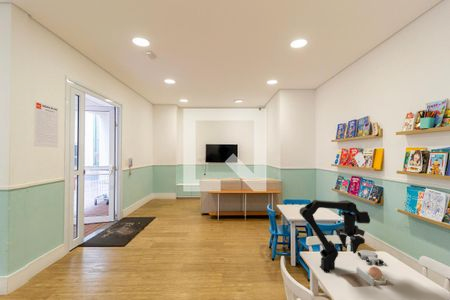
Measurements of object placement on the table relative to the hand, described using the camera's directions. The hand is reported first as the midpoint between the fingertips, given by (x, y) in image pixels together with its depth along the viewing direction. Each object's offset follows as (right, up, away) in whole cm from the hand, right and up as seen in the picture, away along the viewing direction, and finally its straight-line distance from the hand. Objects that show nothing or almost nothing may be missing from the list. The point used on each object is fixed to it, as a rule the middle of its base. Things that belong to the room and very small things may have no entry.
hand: (349, 249), depth 131 cm
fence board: (+3, -12, -11) cm, 16 cm away
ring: (+8, -11, -10) cm, 17 cm away
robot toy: (+20, -13, +12) cm, 26 cm away
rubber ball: (+8, -8, -10) cm, 15 cm away
